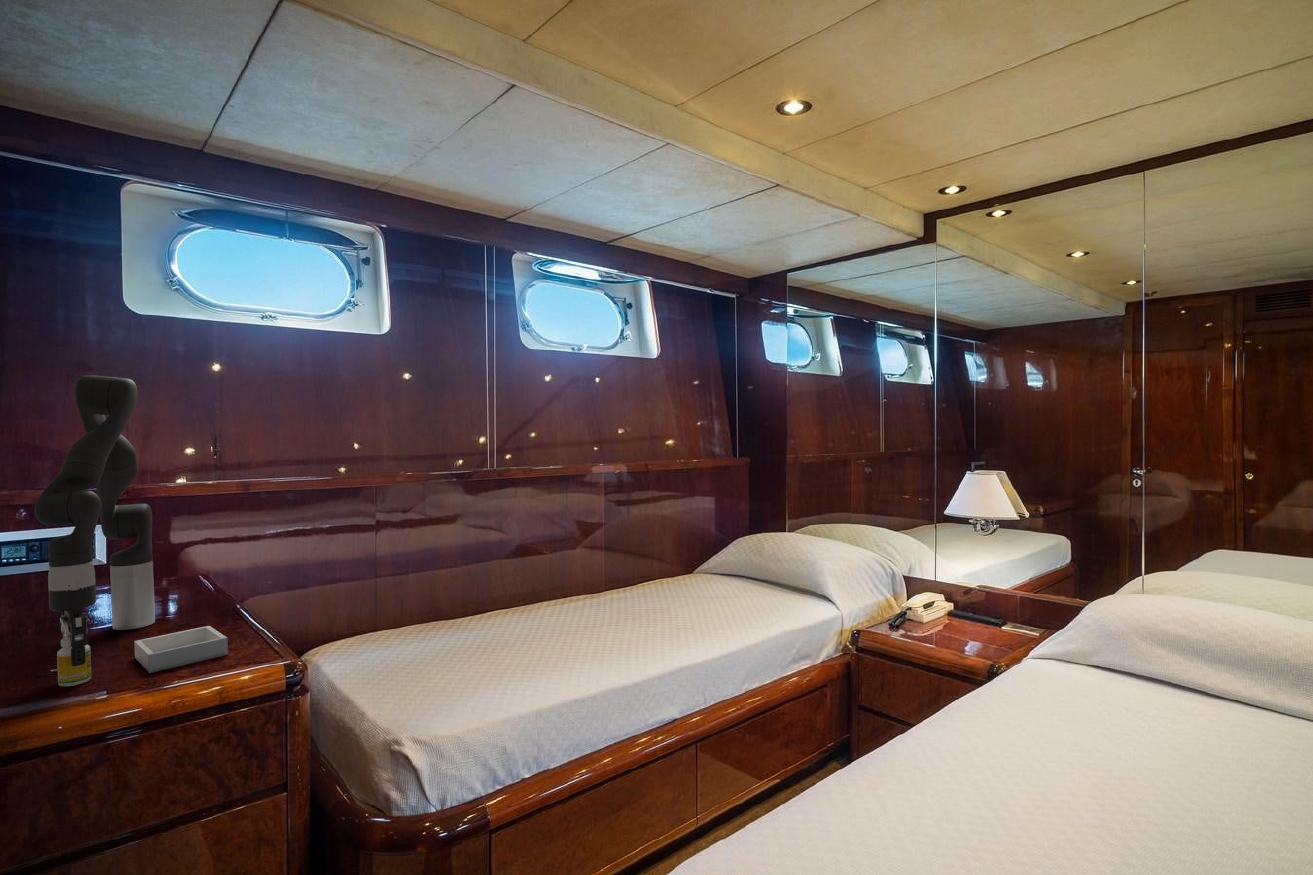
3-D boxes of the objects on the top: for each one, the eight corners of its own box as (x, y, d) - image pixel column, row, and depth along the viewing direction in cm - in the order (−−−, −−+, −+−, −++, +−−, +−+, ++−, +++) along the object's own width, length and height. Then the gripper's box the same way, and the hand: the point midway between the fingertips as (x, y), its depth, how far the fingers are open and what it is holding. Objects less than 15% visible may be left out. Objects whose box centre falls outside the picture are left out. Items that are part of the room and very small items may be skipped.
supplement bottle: (56, 682, 142) (54, 638, 142) (89, 675, 146) (87, 631, 146) (59, 689, 138) (57, 643, 138) (93, 681, 142) (91, 636, 142)
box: (135, 657, 157) (134, 641, 157) (209, 641, 168) (209, 625, 168) (149, 673, 147) (148, 654, 146) (228, 654, 158) (227, 637, 158)
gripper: (44, 583, 144) (47, 658, 144) (53, 593, 134) (56, 673, 135) (89, 577, 150) (92, 649, 150) (101, 586, 140) (104, 663, 140)
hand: (75, 660), depth 142 cm, fingers open, 8 cm apart
